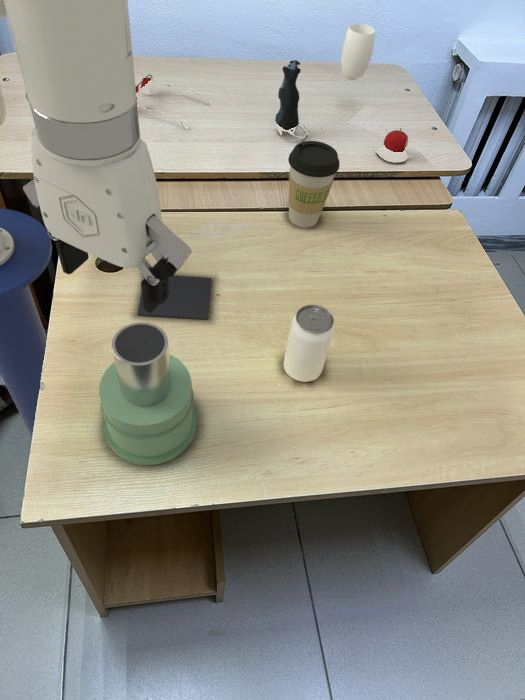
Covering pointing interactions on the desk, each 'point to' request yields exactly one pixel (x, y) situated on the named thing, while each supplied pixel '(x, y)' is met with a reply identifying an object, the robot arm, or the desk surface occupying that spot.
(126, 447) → the green short cylinder
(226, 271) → the desk surface
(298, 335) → the can
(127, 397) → the silver cup
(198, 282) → the mat
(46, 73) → the robot arm
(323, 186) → the coffee cup
